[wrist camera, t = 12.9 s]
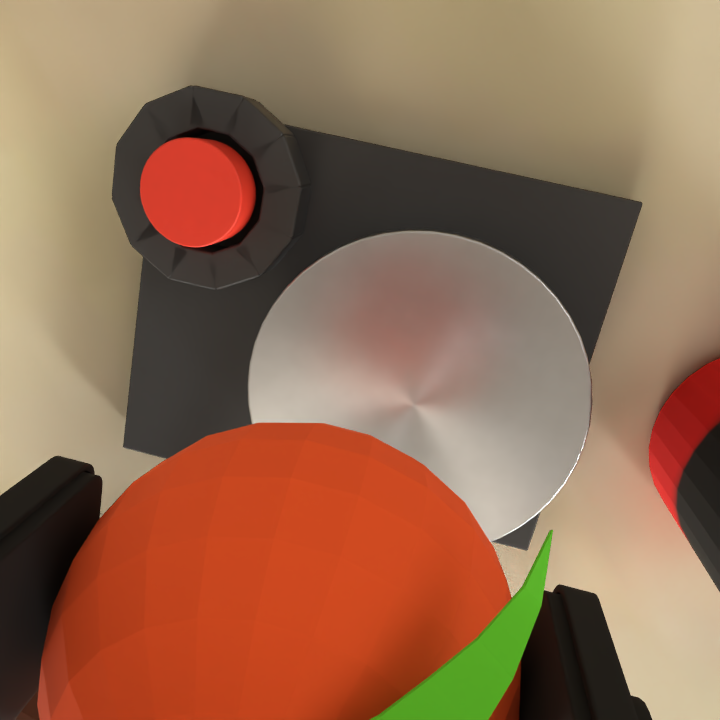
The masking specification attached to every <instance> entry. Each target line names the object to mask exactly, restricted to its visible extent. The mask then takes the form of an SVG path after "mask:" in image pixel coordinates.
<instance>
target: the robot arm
mask: <svg viewBox="0 0 720 720" xmlns="http://www.w3.org/2000/svg"><path fill="white" fill-rule="evenodd" d="M101 496H102V478H101V477H100V476H98V475H94V468H93V466H92V465H91V464H88V463H84V462H80V461H76V460H72V459H68V458H65V457H61V456H55V457H53V458H51V459H50V460H48V461H47V462H46V463H44V464H43V465H41V466H40V467H39V468H37V469H36V470H35V471H33V472H32V473H31V474H29V475H28V476H26V477H25V478H24V479H22V480H21V481H20V482H18V483H17V484H16V485H14V486H13V487H11V488H10V489H9V490H7V491H6V492H5V493H3V494H2V495H1V496H0V720H15V719H16V717H17V716H18V715H19V714H20V712H21V711H22V710H23V709H24V707H25V706H26V705H27V703H28V702H29V701H30V700H31V698H32V697H33V696H34V695H35V693H36V692H37V691H38V689H39V680H40V669H41V658H42V653H43V649H44V644H45V639H46V634H47V630H48V625H49V620H50V615H51V610H52V606H53V604H54V601H55V599H56V597H57V595H58V592H59V590H60V588H61V586H62V584H63V581H64V579H65V577H66V575H67V572H68V570H69V568H70V566H71V563H72V561H73V559H74V558H75V556H76V554H77V553H78V551H79V550H80V548H81V547H82V545H83V543H84V542H85V540H86V539H87V537H88V535H89V534H90V532H91V531H92V529H93V528H94V526H95V524H96V523H97V521H98V520H99V517H100V506H101ZM519 720H652V718H651V715H650V712H649V710H648V708H647V706H646V704H645V702H643V701H642V700H641V699H640V698H638V697H634V696H631V695H630V692H629V689H628V686H627V683H626V680H625V677H624V674H623V671H622V668H621V665H620V662H619V659H618V656H617V653H616V650H615V647H614V644H613V641H612V638H611V635H610V632H609V629H608V626H607V623H606V620H605V617H604V614H603V610H602V607H601V604H600V601H599V599H598V597H597V595H596V594H594V593H591V592H587V591H583V590H579V589H575V588H571V587H568V586H564V585H560V584H559V585H557V586H556V588H555V589H554V591H553V593H552V592H549V591H545V590H544V593H543V599H542V606H541V608H540V611H539V613H538V616H537V619H536V621H535V624H534V626H533V629H532V632H531V634H530V637H529V639H528V642H527V645H526V647H525V650H524V652H523V655H522V657H521V681H520V707H519Z"/></svg>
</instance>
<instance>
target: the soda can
mask: <svg viewBox="0 0 720 720" xmlns="http://www.w3.org/2000/svg"><path fill="white" fill-rule="evenodd" d="M649 465H650V470H651V474H652V477H653V481H654V484H655V486H656V488H657V490H658V492H659V494H660V496H661V498H662V499H663V501H664V503H665V504H666V506H667V508H668V509H669V511H670V512H671V514H672V516H673V517H674V519H675V521H676V522H677V524H678V525H679V527H680V529H681V530H682V532H683V533H684V535H685V537H686V538H687V540H688V541H689V543H690V545H691V546H692V548H693V550H694V551H695V553H696V554H697V556H698V558H699V559H700V561H701V562H702V564H703V566H704V567H705V569H706V571H707V572H708V574H709V575H710V577H711V579H712V580H713V582H714V583H715V585H716V587H717V588H718V590H719V591H720V358H719V359H717V360H714V361H712V362H710V363H708V364H706V365H705V366H703V367H702V368H700V369H699V370H698V371H696V372H695V373H693V374H692V375H690V376H689V377H688V378H687V379H686V380H685V381H684V382H683V383H682V384H681V385H680V386H679V387H678V388H677V389H676V390H675V391H674V392H673V393H672V394H671V395H670V397H669V398H668V400H667V401H666V403H665V404H664V406H663V407H662V409H661V410H660V412H659V415H658V417H657V419H656V422H655V424H654V426H653V429H652V434H651V439H650V445H649Z"/></svg>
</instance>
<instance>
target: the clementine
mask: <svg viewBox="0 0 720 720" xmlns="http://www.w3.org/2000/svg"><path fill="white" fill-rule="evenodd" d="M552 533H553V530H550V531H549V533H548V535H547V537H546V539H545V541H544V543H543V545H542V547H541V549H540V551H539V553H538V556H537V558H536V560H535V562H534V564H533V566H532V568H531V570H530V572H529V574H528V576H527V578H526V580H525V582H524V584H523V586H522V587H521V588H520V590H519V591H518V592H517V593H516V594H515V595H514V596H513V597H512V598H511V594H510V591H509V587H508V584H507V580H506V578H505V575H504V572H503V570H502V567H501V565H500V562H499V560H498V557H497V555H496V552H495V550H494V547H493V546H492V544H491V542H490V541H489V539H488V538H487V536H486V535H485V533H484V531H483V530H482V528H481V527H480V525H479V524H478V522H477V520H476V519H475V517H474V516H473V514H472V513H471V511H470V509H469V508H468V506H467V505H466V503H465V502H464V501H463V500H462V499H461V498H460V497H459V496H457V495H456V494H455V493H454V492H453V491H452V490H451V489H450V488H449V487H448V486H447V485H445V484H444V483H443V482H442V481H441V480H440V479H439V478H438V477H437V476H436V475H434V474H433V473H432V472H431V471H430V470H429V469H428V468H427V467H426V466H425V465H423V464H422V463H420V462H419V461H417V460H415V459H414V458H412V457H410V456H408V455H407V454H405V453H403V452H401V451H399V450H397V449H395V448H394V447H392V446H390V445H388V444H386V443H384V442H382V441H380V440H379V439H377V438H375V437H373V436H371V435H369V434H365V433H361V432H357V431H353V430H349V429H345V428H341V427H337V426H333V425H329V424H326V423H260V422H259V423H255V424H251V425H247V426H243V427H240V428H236V429H232V430H228V431H224V432H220V433H216V434H212V435H208V436H206V437H204V438H202V439H201V440H199V441H197V442H195V443H194V444H192V445H190V446H188V447H187V448H185V449H183V450H182V451H180V452H178V453H176V454H175V455H173V456H171V457H169V458H168V459H166V460H164V461H163V462H161V463H160V464H158V465H157V466H156V467H154V468H153V469H151V470H150V471H148V472H147V473H146V474H144V475H143V476H141V477H140V478H138V479H137V480H136V481H134V482H133V483H132V484H131V485H130V486H129V487H128V488H127V490H126V491H125V492H124V493H123V494H122V495H121V496H120V497H119V498H118V499H117V500H116V501H115V503H114V504H113V505H112V506H111V507H110V508H109V509H108V510H107V511H106V512H105V513H104V514H103V516H102V517H101V518H100V519H99V520H98V521H97V523H96V524H95V526H94V528H93V529H92V531H91V532H90V534H89V535H88V537H87V539H86V540H85V542H84V543H83V545H82V547H81V548H80V550H79V551H78V553H77V554H76V556H75V558H74V559H73V561H72V563H71V566H70V568H69V570H68V572H67V575H66V577H65V579H64V581H63V584H62V586H61V588H60V590H59V592H58V595H57V597H56V599H55V601H54V604H53V606H52V610H51V615H50V620H49V625H48V630H47V634H46V639H45V644H44V649H43V653H42V658H41V669H40V680H39V691H38V702H37V707H38V713H39V719H40V720H519V707H520V681H521V657H522V655H523V652H524V650H525V647H526V645H527V642H528V639H529V637H530V634H531V632H532V629H533V626H534V624H535V621H536V619H537V616H538V613H539V611H540V608H541V606H542V599H543V593H544V586H545V579H546V573H547V566H548V559H549V553H550V546H551V539H552Z"/></svg>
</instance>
